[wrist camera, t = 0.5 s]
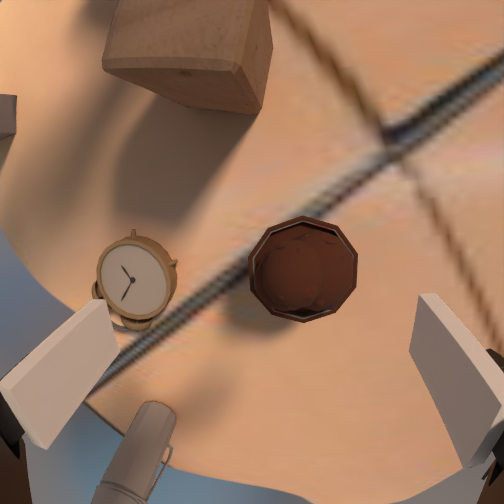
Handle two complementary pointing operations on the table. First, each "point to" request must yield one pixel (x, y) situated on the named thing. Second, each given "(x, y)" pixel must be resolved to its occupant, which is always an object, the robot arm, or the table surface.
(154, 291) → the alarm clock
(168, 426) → the water bottle
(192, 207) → the table surface
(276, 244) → the ice cream bowl
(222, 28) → the wooden block
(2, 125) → the pot
